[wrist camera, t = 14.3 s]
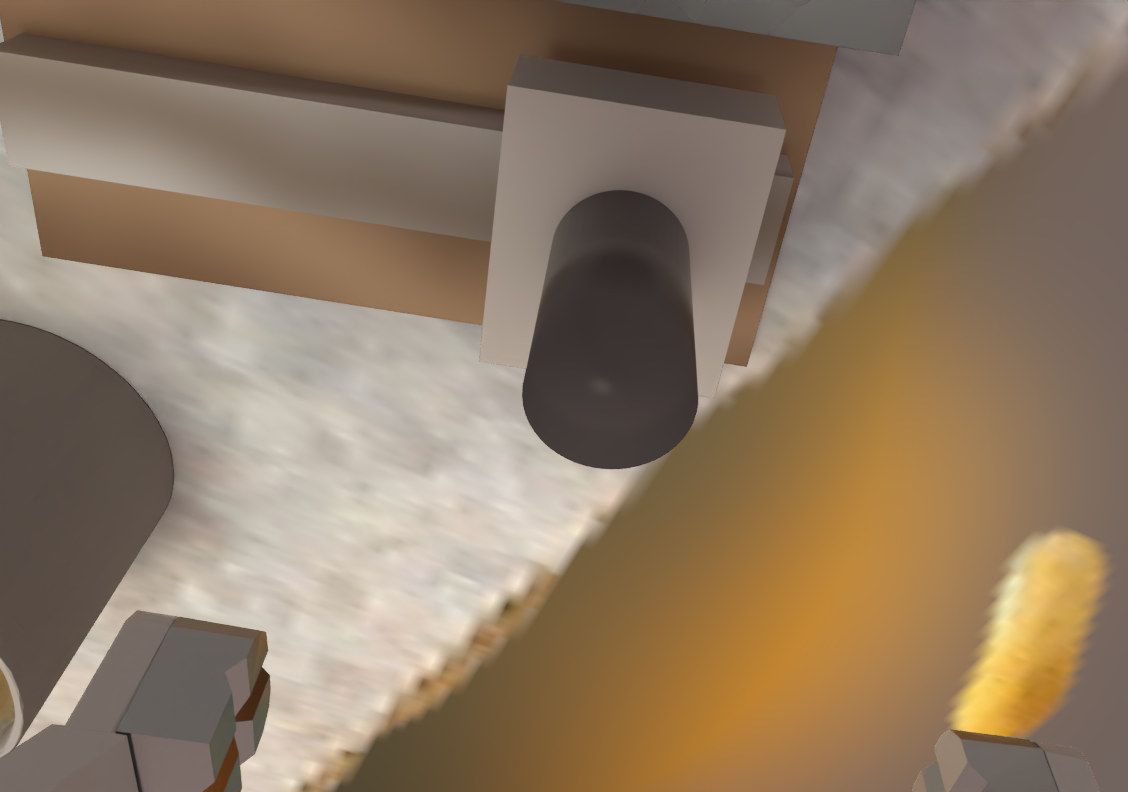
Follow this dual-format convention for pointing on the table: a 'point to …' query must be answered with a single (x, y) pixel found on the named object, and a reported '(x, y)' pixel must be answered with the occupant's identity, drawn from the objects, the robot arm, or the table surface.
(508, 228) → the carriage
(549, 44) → the rail bench
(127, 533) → the coffee mug
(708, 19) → the dark grey holder box
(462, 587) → the table surface
